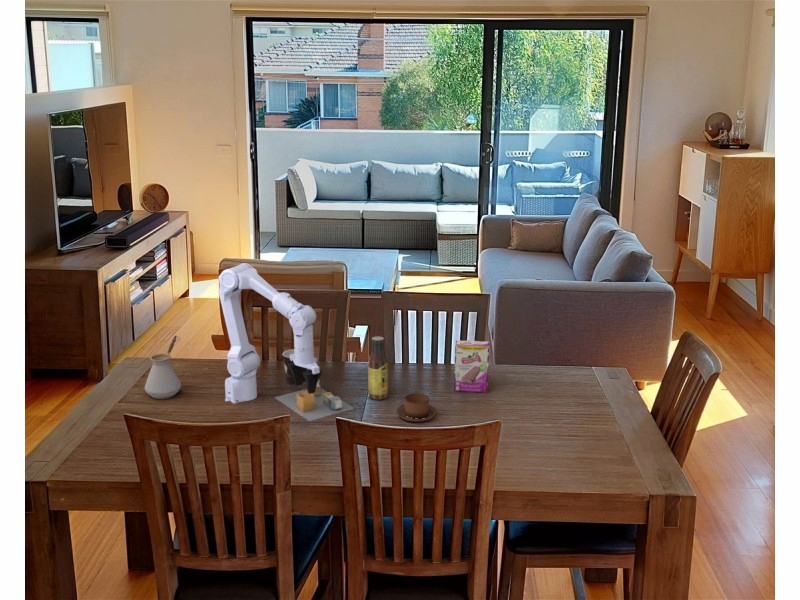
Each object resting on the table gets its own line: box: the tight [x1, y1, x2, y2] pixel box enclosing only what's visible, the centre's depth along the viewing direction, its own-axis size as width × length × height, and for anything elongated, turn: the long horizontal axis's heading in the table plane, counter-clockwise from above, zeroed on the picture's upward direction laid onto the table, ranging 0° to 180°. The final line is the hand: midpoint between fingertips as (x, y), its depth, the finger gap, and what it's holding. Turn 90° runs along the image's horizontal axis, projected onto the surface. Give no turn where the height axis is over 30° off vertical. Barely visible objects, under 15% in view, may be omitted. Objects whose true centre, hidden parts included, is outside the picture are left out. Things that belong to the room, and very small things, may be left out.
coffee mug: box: [282, 348, 308, 385], centre depth 295 cm, size 12×9×10 cm
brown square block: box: [296, 391, 315, 413], centre depth 269 cm, size 4×4×5 cm
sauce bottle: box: [367, 335, 389, 401], centre depth 280 cm, size 7×6×20 cm
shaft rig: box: [312, 379, 343, 411], centre depth 276 cm, size 6×20×4 cm, turn 36°
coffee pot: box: [144, 335, 182, 400], centre depth 287 cm, size 21×12×15 cm, turn 174°
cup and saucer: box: [396, 393, 437, 423], centre depth 268 cm, size 12×12×6 cm
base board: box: [274, 387, 355, 422], centre depth 274 cm, size 16×22×2 cm
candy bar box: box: [453, 339, 491, 394], centre depth 286 cm, size 11×5×16 cm, turn 84°
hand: (305, 388), depth 267 cm, fingers open, 7 cm apart
